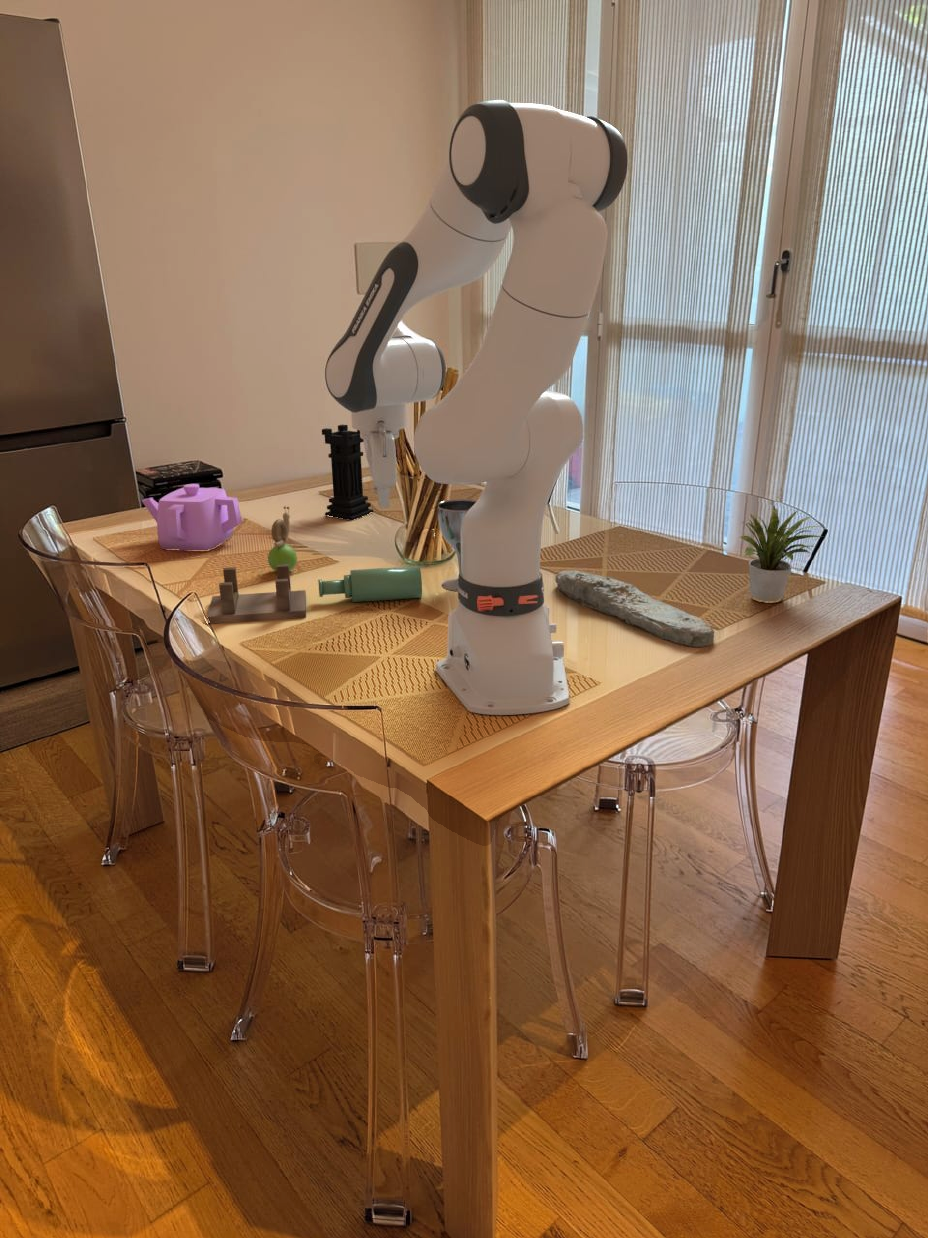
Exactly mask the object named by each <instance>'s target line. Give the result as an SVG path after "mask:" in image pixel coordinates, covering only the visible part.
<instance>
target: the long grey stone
mask: <svg viewBox="0 0 928 1238" xmlns="http://www.w3.org/2000/svg"><path fill="white" fill-rule="evenodd" d="M554 580H555V583H556V585H557V586H556V587H557V589H558V591H562V592H563V593H564V594H565V595H566V596H568V598H570V599H573V600H574V601H576V602H579V603H580V604H581V607H588V608H589V609H593V610H594V609H595V610H597V611H599V612H601V613H603V614H606V615H608V616H612V617H613V616H616V617H617V618H620V620H622V621H625V622H626V624H629V625H633V626H637V627H639V628H641V629H643V630H645V631H647V632H648V633H650V634H653V635H654V636H657V637H659V638H661V639H663V640H665V641H669V642H674V643H675V644H681V645H684V646H688V647H692V648H704V647H708V646H711V645H712V644H714V639H715V631H714V629H713V627H711V625H710V624H709V623H707V622H706V621H705V620H704V619H702V618H700V617H699V616H696V615H692V614H690V613H688V612H686V611H684V610H681V609H680V608H678V607H676V606H672V605H671V604H668V603H665V602H663V601H660V600H658V599H655V598H653V597H652V596H651V595H648V594H647V593H645V592H643V591H641V590H640V589H639V588H638V587H636V586H635V585H634V584H630V583H627V582H625V581H620V580H618V579H615V578H612V577H611V576H606V577H605V576H602V575H600V574H599V575H598V574H594V573H589V572H584V571H581V570H575V569H574V570H571V569H570V570H562V571H559V572H557V574H556V575H555V579H554Z"/></svg>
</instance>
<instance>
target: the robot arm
mask: <svg viewBox="0 0 928 1238" xmlns="http://www.w3.org/2000/svg"><path fill="white" fill-rule="evenodd" d="M448 153H449V154H448V155H449V156H448V157H447V158H446V160H445V162H444V164H443V166H442V168H441V171H440V173H439V175H438V178H437V179H436V182H435V185H434V187H433V189H432V192H431V196H430V198H429V200H428V203H427V205H426V207H425V209H424V211H423V213H422V214H421V216H420V218H419V219H418V221H417V222H416V223H415V225H414V226H413V227H412V229H411V230H410V231H409V232H408V234H407V235H406V236H405V237H404V238H403V239H402V240H401V241H400V242H399V243H398V244H397V245H396V246H395V247H393V248H391V250H390V251H389V252H388V253H387V255H386V256H385V257H384V259H383V261H382V262H381V264H380V266H379V267H378V269H377V271H376V273H375V275H374V277H373V279H372V281H371V283H370V285H369V287H368V289H367V291H366V292H365V294H364V296H363V298H362V300H361V302H360V303H359V304H360V305H359V306H358V308H357V311H356V313H354V316H353V318H352V319H351V322H350V324H349V326H348V328H347V330H346V332H345V333H344V335H343V336H342V337H341V338H340V339H339V341H338V342H337V343H336V344H335V346H334V347H333V348H332V350H331V351H330V353H329V355H328V358H327V360H326V364H325V368H324V369H325V370H324V379H325V384H326V388H327V390H328V393H329V394H330V395H331V397H332V398H333V399H334V400H335V401H336V402H337V403H338V404H339V405H341V406H342V407H343V408H345V410H347V411H349V412H350V415H351V416H350V417H351V427H352V428H353V429H354V430H356V431H357V430H360V438H362V439H363V441H364V442H363V446H364V453H365V457H366V460H367V464H368V467H369V471H370V474H371V478H372V482H373V488H374V489H373V490H374V493H375V494H377V501H378V503H377V504H378V508H379V509H381V510H382V509H389V508H390V507H391V491H392V488H391V487H393V486H396V484H397V481H398V478H397V477H398V475H397V474H398V473H397V471H398V470H397V452H396V442H395V440H396V439H398V438H399V437H400V430H403V429H405V428H407V404H411V403H413V404H414V403H418V402H419V403H420V402H425V401H428V400H431V399H434V398H435V397H437V395H439V394H440V392H441V390H442V389H443V386H444V384H445V379H446V371H447V370H446V368H447V367H446V360H445V357H444V354H443V352H442V349H441V348H440V347H439V345H438V344H437V343H436V342H435V341H434V340H433V339H431V338H429V337H423V336H422V335H420V334H418V333H417V332H415V331H413V330H412V329H410V327H408V326H407V324H405V323H404V321H403V318H404V317H405V315H406V314H407V313H408V311H410V310H411V309H412V308H413V307H414V306H416V305H418V304H419V303H421V302H423V301H425V300H426V299H429V298H432V297H434V296H436V295H439V294H442V293H444V292H447V291H449V290H454V289H457V288H461V287H463V286H466V285H469V284H471V283H473V282H475V281H477V280H479V279H480V278H482V277H483V276H485V275H486V274H487V272H488V271H489V270H490V269H491V268H492V266H493V265H494V263H496V261H497V259H498V258H499V256H500V254H501V252H502V250H503V248H504V245H505V243H506V241H507V238H508V236H509V234H510V232H511V229H512V233H513V241H512V242H513V243H512V244H513V245H512V248H511V253H510V257H509V258H508V259H509V260H508V263H507V265H506V268H505V272H504V275H503V278H502V281H501V285H500V289H499V292H498V295H497V298H496V302H495V305H494V308H493V311H492V314H491V317H490V320H489V324H488V326H487V331H486V332H485V335H484V338H483V341H482V342H481V345H480V346H479V348H478V350H477V352H476V354H475V356H474V358H473V359H472V361H471V362H470V363H469V365H468V366H467V369H466V370H464V373H462V375H461V377H460V378H459V379H458V380H457V382H456V383H455V384H454V386H453V387H452V388H451V389H450V391H449V392H447V393H446V394H445V396H444V397H443V398H441V400H439V401H438V402H437V403H435V404H434V405H433V406H432V407H429V409H428V410H425V411H424V413H422V415H421V416H420V417H419V420H418V421H417V424H416V426H415V430H414V436H413V449H414V455H415V458H416V460H417V463H418V465H419V466H420V468H421V470H422V471H423V473H424V474H425V475H426V476H427V477H428V478H429V479H430V480H431V481H433V482H435V483H438V484H444V485H445V484H446V485H456V486H457V485H458V486H459V485H460V486H462V485H465V486H470V485H471V486H472V485H477V484H482V483H485V482H486V483H485V486H484V488H483V490H482V493H481V494H480V496H479V497H478V499H477V500H476V501H477V502H476V503H475V504H474V505H473V506H472V507H471V508H470V509H469V510H468V511H467V513H466V514H465V516H464V518H463V520H462V523H461V572H460V573H459V572H458V576H457V578H458V583H457V589H458V591H457V597H458V604H457V605H456V606H455V608H453V610H452V611H450V613H449V614H448V616H447V643H446V644H447V645H446V646H447V647H446V649H447V651H446V652H447V653H446V657H445V658H443V659H440V660H438V661H437V662H436V663H435V671H436V673H437V674H438V675H439V676H440V678H441V679H442V680H443V681H444V683H445V684H446V685H447V687H448V688H449V689H450V690H451V691H452V693H453V694H454V695H455V697H457V699H458V700H459V701H460V703H461V704H462V705H463V706H464V708H466V710H467V711H468V712H470V713H475V714H480V715H490V716H511V715H523V714H524V715H525V714H536V713H541V712H542V713H543V712H547V711H551V710H556V709H559V708H561V707H565V706H567V705H569V704H570V701H571V699H570V692H569V686H568V685H569V684H568V679H567V673H566V668H565V663H564V662H565V660H564V656H565V655H564V654H565V650H564V649H565V648H564V647H565V646H564V645H565V644H564V641H562V640H554V641H553V640H552V634H557V624H556V623H554V622H553V623H552V622H551V623H550V607H549V606H547V605H546V604H545V597H544V592H545V587H544V586H545V584H544V579H543V574H542V572H541V552H542V551H541V547H542V533H543V522H544V517H545V514H546V513H545V512H546V510H547V507H548V504H549V500H550V497H551V494H552V491H553V489H554V486H555V485H556V482H557V480H558V478H559V476H560V474H561V472H562V471H563V468H564V467H565V465H566V464H567V463H568V462H569V461H570V460H571V458H572V457H574V456H575V454H576V453H577V452H578V450H579V448H580V446H581V443H582V441H583V435H584V434H583V433H584V424H583V423H584V422H583V418H582V414H581V411H580V409H579V407H578V406H577V404H576V403H575V401H574V400H573V399H572V398H571V397H570V396H568V395H567V394H565V393H562V392H558V391H553V390H548V389H550V388H551V387H553V386H554V385H556V384H557V382H559V381H561V379H562V378H563V377H564V376H565V375H566V373H567V372H568V370H569V369H570V368H571V366H572V363H573V360H574V357H575V354H576V351H577V349H578V346H579V343H580V340H581V337H582V335H583V332H584V330H585V326H586V324H587V321H588V318H589V315H590V312H591V310H592V308H593V307H592V306H593V303H594V300H595V298H596V294H597V290H598V287H599V284H600V279H601V276H602V272H603V266H604V261H605V257H606V251H607V244H608V243H607V242H608V235H609V233H608V227H607V223H606V221H605V219H604V217H603V216H602V214H601V213H600V212H603V210H606V209H607V208H608V207H610V206H611V205H612V204H613V203H614V202H615V201H616V199H617V198H618V196H619V195H620V193H621V191H622V189H623V187H624V184H625V181H626V176H627V171H628V165H629V163H628V160H629V159H628V150H627V145H626V143H625V140H624V137H623V136H622V134H621V133H620V132H619V130H618V129H617V128H615V127H614V126H613V125H611V124H610V123H608V122H606V121H604V120H602V119H599V118H597V117H594V116H583V115H580V114H576V113H573V112H571V111H566V110H562V109H558V108H556V107H554V106H551V105H546V104H539V103H528V102H527V103H526V102H508V101H506V100H503V99H494V100H493V99H492V100H484V101H481V102H477V103H475V104H472V105H470V106H468V107H466V109H465V110H464V111H463V112H462V114H461V115H460V116H459V118H458V120H457V122H456V125H455V126H454V128H453V132H452V133H451V137H450V142H449V151H448Z"/></svg>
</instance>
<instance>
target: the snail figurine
mask: <svg viewBox="0 0 928 1238" xmlns="http://www.w3.org/2000/svg"><path fill="white" fill-rule="evenodd" d="M283 509H284V513H283V514H282V519H280V518H278V519H276V520H275V521H273V522H272V523H273V524H272V525H271V531H270V532H271V533H270V534H271V538H272V540H273V541H274V543H273V544H274V546H273V547H272V548H271V549H270V550H269V552H268V555H267V561H268V565H269V567H270V568H271V569H272V570H273V571H275V572H277V565H280V564H289V572H290V571H292V570H294V568H295V567H296V564H297V562H298V556H297V553H296V550H295V549H294V548H293V547H292V546H291V545H288V544H286V543H287V541H288V539H289V535H290V525H291V524H290V517H291V516H290V506H286V505H285V506H283ZM286 510H287V511H288V512H286Z"/></svg>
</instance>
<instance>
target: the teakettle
mask: <svg viewBox="0 0 928 1238" xmlns="http://www.w3.org/2000/svg"><path fill="white" fill-rule="evenodd" d="M227 495H228V494H227V493H226V489H224V488H219V487H215V486H214V487H211V486H210V487H200V484H199V483H188V484H185V485H183V486H182V487H180V488H177V489H176V490H174V491H171V492H170V493H168V494H166V495H164V496H162V497H161V498H159V500H158V502H157V501H156V500H155V499H154V497H149V498H148V497H147V498H144V499H142V500H141V502H142V504H143V505H144V506H145V508H146V509H147V510H148V512H149V514H150V515H151V516H152V518H153V519H154V521H155V522H156V528H157V529H156V530H157V540H158V543H159V545H160V548H161V549H162V548H163V549H179V550H208V549H212V548H214V547H216V546H217V545H219V544H220V543H222V542H224V541H225V540H226V539H227V538H229V537H230V536H231V535H232V533H233V534H234V529H235V528H236V527H238V526H239V525H241V524H243V519H242V515H241V509H240V505H239V500H238V497H231V496H227ZM232 536H233V535H232ZM163 549H162V550H163Z"/></svg>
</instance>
